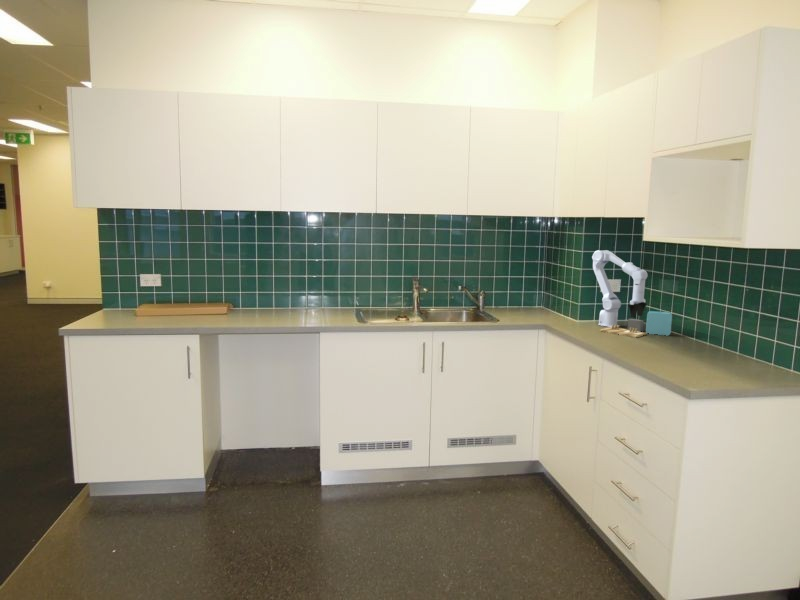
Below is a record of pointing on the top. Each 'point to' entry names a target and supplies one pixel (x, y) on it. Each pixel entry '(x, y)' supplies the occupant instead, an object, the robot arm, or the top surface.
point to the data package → (659, 323)
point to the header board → (623, 331)
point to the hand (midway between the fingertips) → (636, 316)
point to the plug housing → (635, 324)
